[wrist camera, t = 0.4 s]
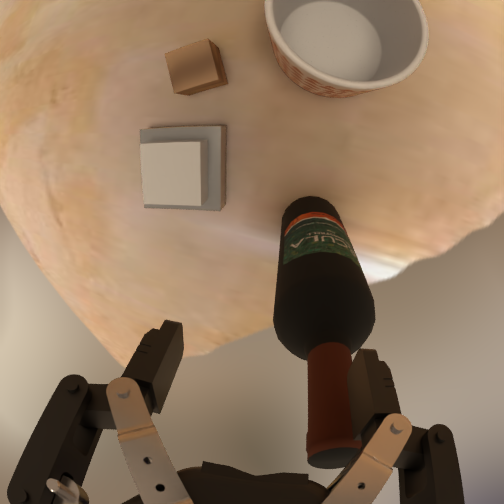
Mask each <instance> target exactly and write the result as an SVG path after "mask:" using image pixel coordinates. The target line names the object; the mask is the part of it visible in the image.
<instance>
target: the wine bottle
mask: <svg viewBox="0 0 504 504" xmlns="http://www.w3.org/2000/svg"><path fill="white" fill-rule="evenodd" d="M273 322H274V328H275V331H276V334H277V337H278V339H279V340H280V341H281V343H282V344H283V345H284V346H285V347H286V348H287V349H288V350H289V351H290V352H291V353H292V354H294V355H296V356H297V357H299V358H301V359H303V360H307V362H308V432H307V437H306V440H307V441H306V451H307V453H308V458H307V459H308V460H307V461H308V463H309V464H310V465H311V466H313V467H316V468H322V469H336V468H342V467H346V465H347V464H348V463H349V462H350V460H351V459H352V458H353V456H354V455H355V454H356V452H357V451H358V450H359V448H360V447H361V446H362V442H361V440H353V432H352V422H351V412H350V403H349V395H348V387H347V375H348V371H349V368H350V366H351V364H352V357H351V354H353V353H354V352H355V351H357V350H358V349H360V347H361V346H362V344H363V343H364V342H365V341H366V339H367V338H368V336H369V335H370V333H371V332H372V329H373V326H374V323H375V307H374V299H373V297H372V294H371V291H370V289H369V286H368V284H367V281H366V278H365V276H364V273H363V271H362V268H361V266H360V263H359V261H358V258H357V256H356V254H355V251H354V249H353V246H352V244H351V242H350V239H349V237H348V235H347V232H346V230H345V228H344V226H343V223H342V221H341V219H340V217H339V215H338V213H337V211H336V209H335V208H334V206H333V205H332V204H330V203H329V202H328V201H327V200H324V199H322V198H320V197H312V196H308V197H303V198H299V199H298V200H296V201H294V202H293V203H291V204H290V206H289V207H288V208H287V209H286V210H285V213H284V215H283V217H282V227H281V239H280V251H279V262H278V273H277V284H276V294H275V304H274V316H273Z"/></svg>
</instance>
